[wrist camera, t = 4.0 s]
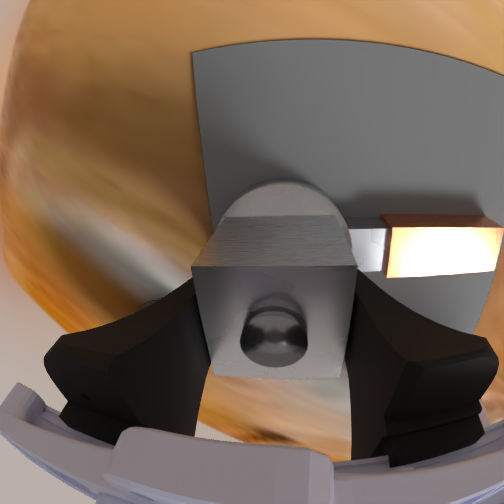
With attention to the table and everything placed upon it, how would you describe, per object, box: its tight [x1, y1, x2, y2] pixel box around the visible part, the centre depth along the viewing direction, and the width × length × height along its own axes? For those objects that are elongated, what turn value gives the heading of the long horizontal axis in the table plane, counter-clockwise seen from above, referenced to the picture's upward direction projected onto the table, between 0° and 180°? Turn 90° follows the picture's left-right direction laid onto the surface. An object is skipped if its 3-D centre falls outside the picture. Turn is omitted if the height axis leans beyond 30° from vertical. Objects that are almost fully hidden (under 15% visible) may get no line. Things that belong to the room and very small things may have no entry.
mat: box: [192, 40, 504, 334], centre depth 15 cm, size 20×20×1 cm
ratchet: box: [217, 178, 504, 278], centre depth 13 cm, size 7×17×4 cm, turn 95°
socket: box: [191, 215, 358, 379], centre depth 10 cm, size 5×5×5 cm
